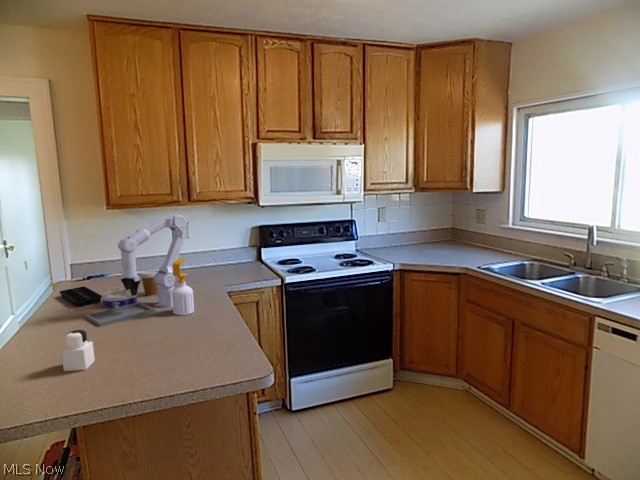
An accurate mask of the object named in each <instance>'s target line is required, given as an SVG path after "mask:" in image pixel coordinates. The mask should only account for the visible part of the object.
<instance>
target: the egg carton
mask: <svg viewBox="0 0 640 480" xmlns="http://www.w3.org/2000/svg"><path fill="white" fill-rule="evenodd" d="M59 294H60V295H61V298H63V299H64V300H65V301H67V302H68V303H69V304H71V305H72V306H74V307H75V308H82V307H85V306H88V305H96V304H100V303H102V294H99V293H98V292H96V291H95V290H92V289H90V288H89V287H87V286H79V287H73V288H68V289H64V290H60V291H59Z"/></svg>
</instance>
